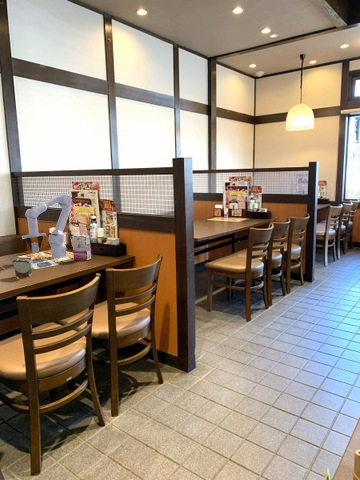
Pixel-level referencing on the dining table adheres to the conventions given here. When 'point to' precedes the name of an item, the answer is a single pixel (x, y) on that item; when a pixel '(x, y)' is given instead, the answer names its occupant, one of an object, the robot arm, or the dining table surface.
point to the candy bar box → (81, 247)
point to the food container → (23, 266)
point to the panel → (42, 263)
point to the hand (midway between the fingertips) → (35, 248)
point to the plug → (35, 248)
